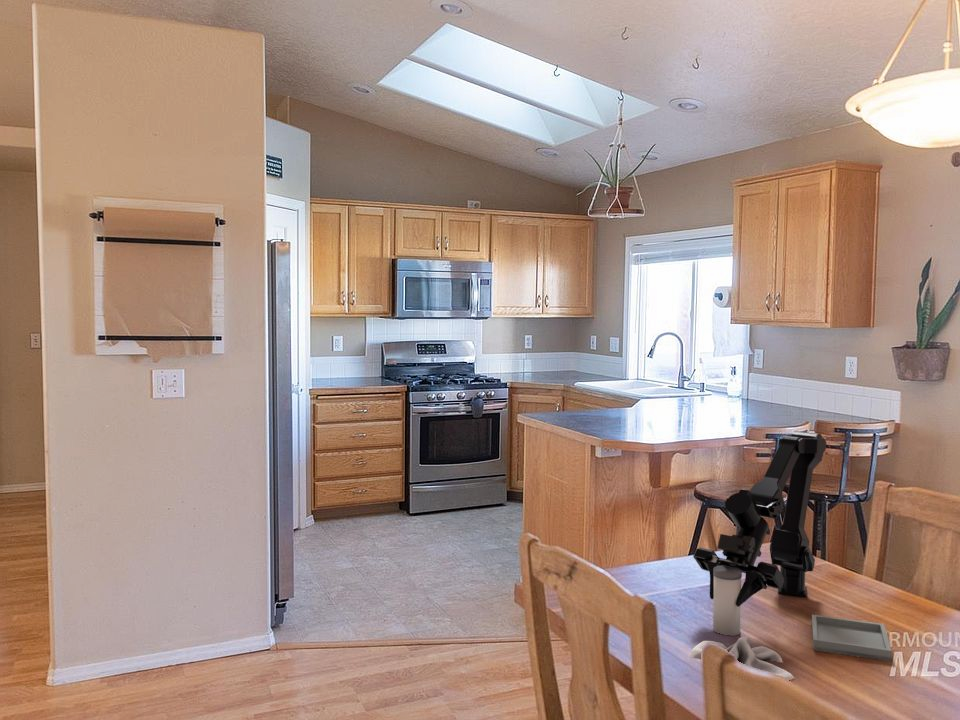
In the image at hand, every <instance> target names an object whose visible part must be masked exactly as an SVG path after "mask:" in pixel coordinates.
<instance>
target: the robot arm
mask: <svg viewBox="0 0 960 720" xmlns="http://www.w3.org/2000/svg"><path fill="white" fill-rule="evenodd" d="M826 449H827V440H826V439H825V438H823V435H822V434H821V433H818V432H817V433H815V432H807V431H798V430H795V431H793V432H792V433H791V434H784V435H783V436H781V437H780V438H779V440H778V448H777V449H776V451H775V453H774V454H773V457H772V460H771V461H770V464H769V465H768V468H767V469H766V472H765V474H764V475H763V478H762V479H761V480H760V481H758V482H756V483H754V484H752V486H751V488H750V490H749V489H745V488H740V489H739V491H738V492H736V493H733V494H731V495H730V496H729V497H728V498H726V499H725V502H724V503H725V504H724V507H725V509H726V511H727V513H728V514H729V516H730V518H731V519H732V521H733V523H734V525H736V526H737V527H738V529H737V532H736V534H732V535H728V534H725V533H724V534H722V533H720V535H719V538H718V543H717V549H719V550H722V555H723V556H724V557H726V558H723V557H722V558H721V557H719V556H718V555H717V553H716V551H715V550H714V549H709V548H705V547H704V548H703V547H697V548H696V549H695V551H694V554H693V556H692V558H693V559H694V560H695V561H696V563H697V565H698V566H699V568H700V569H702V570H704V571H706V572H709V599H710V600H713V595H714V575H713V568H714V567H716V566H721V565H725V566H733V567H737V568H739V569H741V570H742V574H745V577H744V578H745V579H744V582H743V584H742V585H741V591H740V593H739V595H738V597H737V601H736V606H738V607H739V606H740V605H743V604H744V603H745V602H746V601H747V600H749V599H750V598H751V597H752V596H754V595H755V594H756V593H758V592H760V591H761V590H767V589H768V587H769V588H773V589H777V594H782V595H790V596H797V597H805V598H806V597H807V596H808V589H807V586H806V573H808V572H813V571H814V569H815V565H816V563H815V561H816V559H815V557H814V555H813V552H812V551H811V549H810V540H809V536H808V534H807V532H806V530H805V523H806V517H807V511H808V505H809V499H810V498H809V497H810V491H811V485H812V479H813V478H812V477H813V473H814V470H815V468H816V467H817V466H818V465H819V464H820V463H821V462H822V460H823V456H824V453H825V452H826V451H827V450H826ZM789 478H790V479H789ZM788 480H789V484H788V489H787V490H788V491H787V495H786V496H787V497H786V501H785V499H784V496H783V491H784V488H785V487H786V484H787V482H788ZM785 502H786V503H785ZM784 503H785V510H784V514H783V516H784V517H783V522H782V524H781V525H780V526H779V527H778V528H775V529H774V530H773V532H772V539H771V542H770V544H769V553H770V561H771V563H770V562H766V561H760V562H758V563H757V565H756V566H755V563H756V561H757V559H758V557H759V558H760V557H761V555H762V551H761V549H762V548H761V547H762V545H763V542H764V540H765V537H766V535H767V536H768V535H769V536H770V534H771V529H770V527H769V526H770V525H769V524H768V521H766V519H765V518H768V519H771V520H772V519H773V520H775V519H778V517H779V516H780V515H781V514H782V512H783V509H784ZM778 566H779V567H778Z"/></svg>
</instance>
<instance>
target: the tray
mask: <svg viewBox="0 0 960 720" xmlns="http://www.w3.org/2000/svg"><path fill="white" fill-rule="evenodd" d="M811 633H812V635H811V636H813V637H812V650H813V651H814V650H817V651H816V652H821V651H824V652H823V653H828V652H831V653H830V654H835V653H836V654H835V655H841V654H844V655H843V656H848V655H853V656H852V657H855V656H859V657H858V658H862V657H866V658H865V659H869V658H872V659H871V660H875V659H878V660H877V661H882V660H884V662H889V661H890V663H892V656H893V653H892V652H893V650H892V647H891V643H890V640H889V636H888V633H887V630H886V626H885V623H879V622H871V621H864V620H859V619H858V620H856V619H848V618H841V617H833V616H826V615H818V614H811Z"/></svg>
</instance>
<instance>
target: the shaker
mask: <svg viewBox="0 0 960 720" xmlns="http://www.w3.org/2000/svg"><path fill="white" fill-rule="evenodd" d="M713 575H714V595H713V599H712V600H713V602H712V603H713V607H712V611H713V612H712V630H713V632H714V633H716V632H717V633H716V634H719V633H720V634H719V635H722V634H724V635H723V636H727V635H731V637H732V636H737V635H740V634H741V617H742V615H741V612H742V611H741V610H742V606H741V605H742V604H741V605H740V606H739V607H738V606H736V601H737V597H738V595H739V593H740V591H741V588H742V577H743V573H742V570H741V569H739V568H737V567H733V566H725V565H721V566H716V567H714V568H713Z"/></svg>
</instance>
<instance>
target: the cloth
mask: <svg viewBox="0 0 960 720" xmlns="http://www.w3.org/2000/svg"><path fill="white" fill-rule="evenodd" d="M709 643H712V644H716V645H718V646H720V647H722V648H724V649H726V650H727V651H728V652H731V653H732V654H734V655H735V657H736V658H737V660H738V661H739V662H741V663H743V664H746V665H749V666H751V667H754V668H757V669H760V670H765V671H768V672H771V673H773V674H776V675H779V676H782V677H784V678H786V679H788V680H790V679H792V678H793V677H794V675H793V674H792V673H790V672H789V671H787V670H786V669H783V668H781V667H779V666H776V664H775V665H774V664H772V663H770V662H774V661H778V662H782V660H783V658H782V656H781V655H780V654H779V653H777V652H776V651H775V650H773V649H771V648H768V647H766V646H762V645H760V646H755V647H752V648H751V643H750V640H749V638H748V636H741V637H739V638H738V639H737V640H736V642H735V643H734V644H731V645H730V646H728V647H727V646H726V645H725V643H721V642H717V641H713V640H702V641H701V642H700V643H698V644H697V645H696V646H695V647H693V649H692V650H691V651H690V653H689V658H691V659H701V651H702V648H703V647H704V646H705V645H706V644H709ZM778 662H777V663H778ZM782 663H783V662H782ZM790 681H792V680H790ZM790 681H789V682H790Z"/></svg>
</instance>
